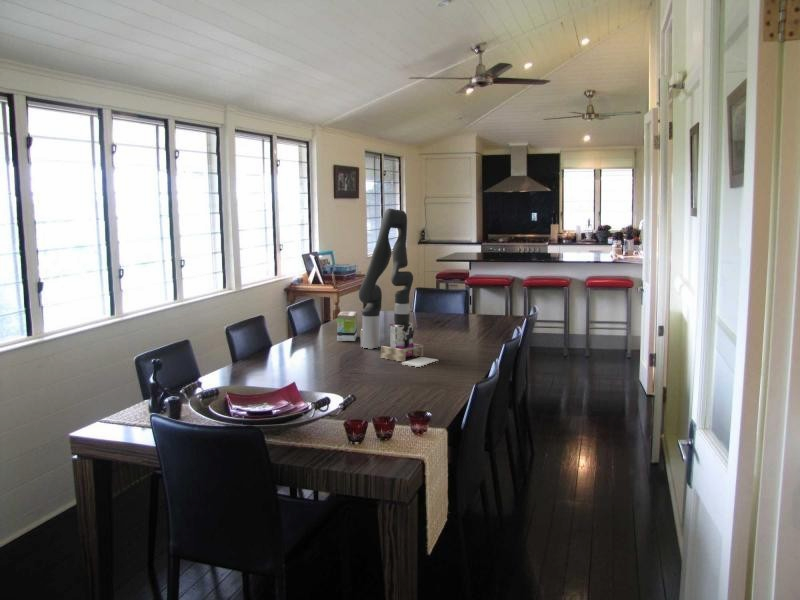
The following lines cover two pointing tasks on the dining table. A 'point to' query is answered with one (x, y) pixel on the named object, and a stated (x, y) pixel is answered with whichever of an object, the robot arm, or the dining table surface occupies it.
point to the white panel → (419, 361)
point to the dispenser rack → (400, 352)
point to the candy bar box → (400, 338)
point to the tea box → (346, 326)
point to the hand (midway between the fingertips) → (401, 346)
